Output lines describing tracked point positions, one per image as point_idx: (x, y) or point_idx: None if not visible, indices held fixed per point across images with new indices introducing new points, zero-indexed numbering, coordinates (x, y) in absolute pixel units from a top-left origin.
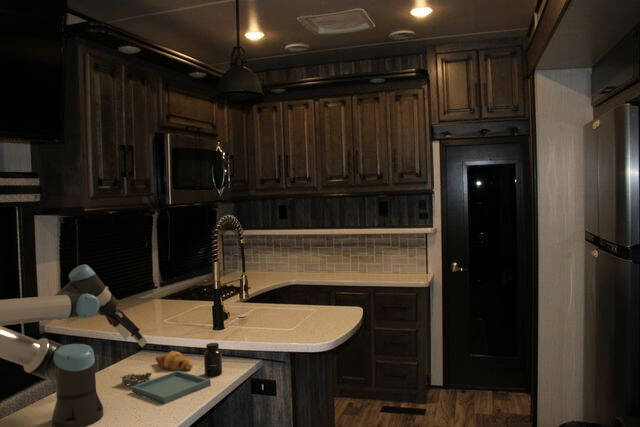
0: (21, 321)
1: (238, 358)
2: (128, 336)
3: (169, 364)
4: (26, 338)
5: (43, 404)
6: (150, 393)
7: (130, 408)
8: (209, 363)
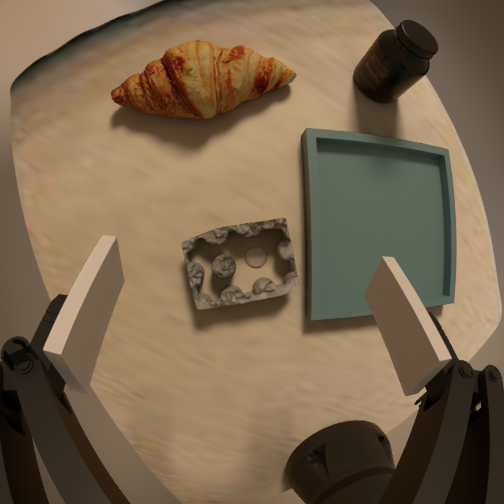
0: None
1: None
2: (119, 255)
3: (223, 105)
4: None
5: (169, 470)
6: None
7: None
8: (409, 86)
